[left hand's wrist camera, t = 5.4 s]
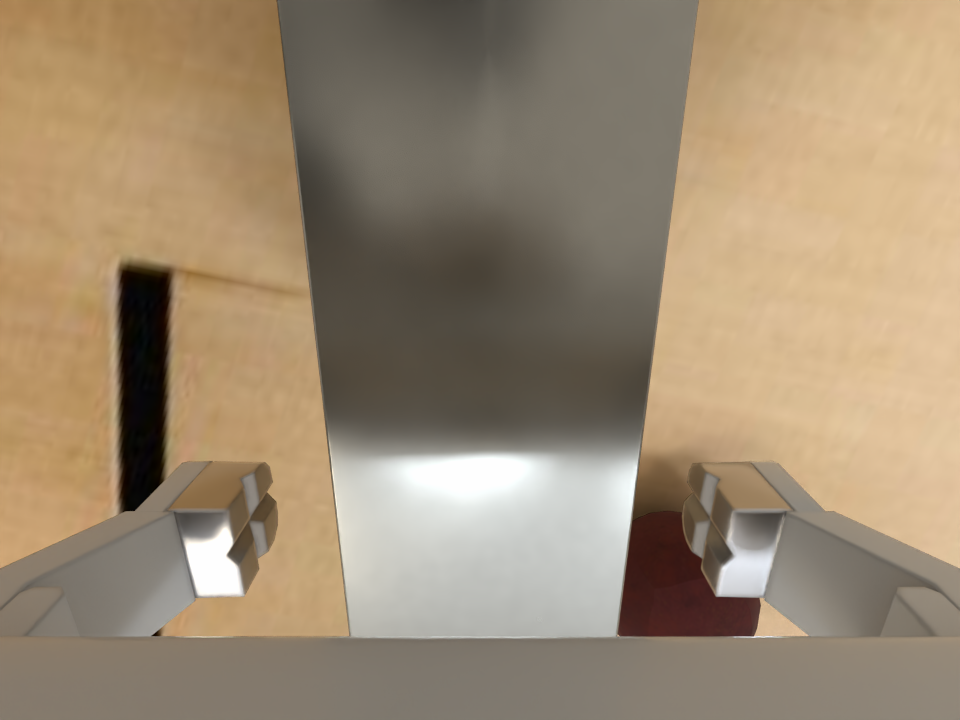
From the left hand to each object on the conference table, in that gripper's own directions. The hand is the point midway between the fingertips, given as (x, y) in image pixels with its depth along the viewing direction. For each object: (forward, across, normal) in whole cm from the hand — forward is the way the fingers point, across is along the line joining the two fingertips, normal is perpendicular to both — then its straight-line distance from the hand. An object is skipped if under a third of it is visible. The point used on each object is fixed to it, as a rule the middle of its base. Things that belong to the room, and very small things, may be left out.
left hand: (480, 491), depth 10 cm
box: (+8, 0, -8) cm, 11 cm away
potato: (+16, -10, +14) cm, 23 cm away
